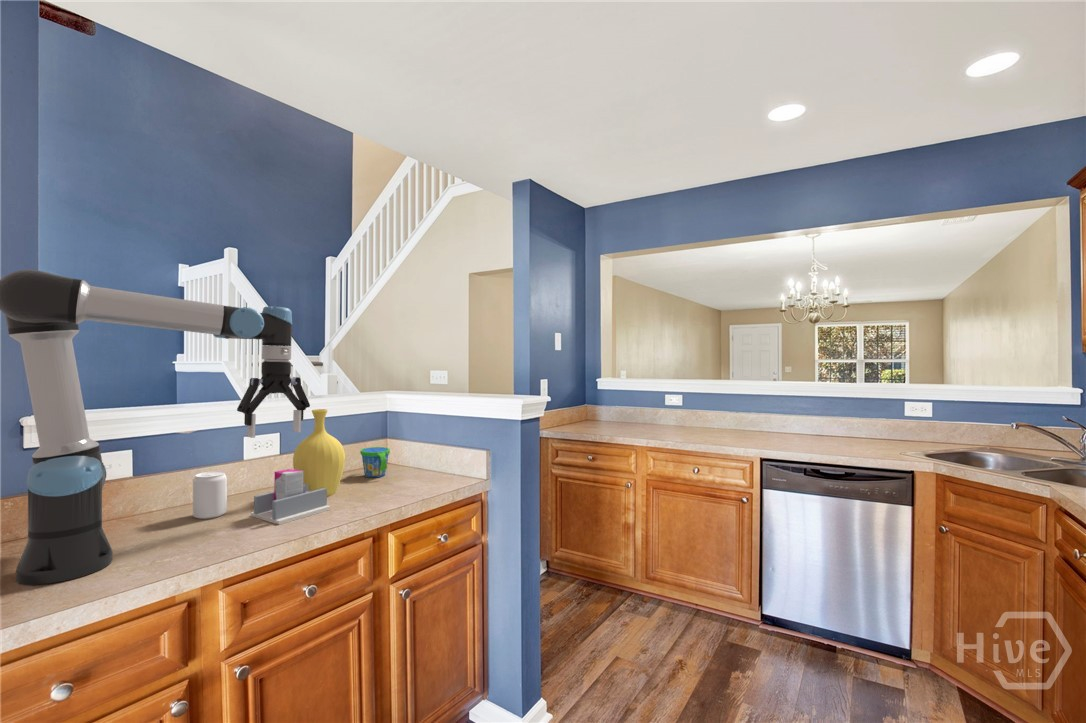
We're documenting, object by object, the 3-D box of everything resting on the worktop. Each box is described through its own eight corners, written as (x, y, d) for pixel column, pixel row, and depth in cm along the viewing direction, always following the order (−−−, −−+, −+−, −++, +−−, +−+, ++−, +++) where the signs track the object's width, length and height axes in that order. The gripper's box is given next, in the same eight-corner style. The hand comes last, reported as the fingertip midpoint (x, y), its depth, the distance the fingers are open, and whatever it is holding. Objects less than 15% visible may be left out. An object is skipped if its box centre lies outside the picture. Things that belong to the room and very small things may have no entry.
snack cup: (395, 478, 191) (395, 451, 191) (367, 482, 185) (367, 454, 185) (382, 470, 204) (382, 444, 204) (355, 473, 198) (355, 447, 198)
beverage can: (210, 521, 141) (210, 478, 141) (185, 518, 143) (185, 476, 143) (233, 512, 149) (233, 471, 149) (210, 510, 151) (210, 470, 151)
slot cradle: (279, 524, 139) (279, 502, 139) (250, 515, 146) (250, 495, 146) (330, 509, 153) (330, 489, 153) (301, 502, 160) (301, 483, 160)
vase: (350, 495, 167) (350, 411, 167) (296, 503, 158) (297, 413, 158) (339, 485, 181) (339, 406, 180) (289, 491, 172) (289, 408, 171)
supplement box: (303, 509, 150) (304, 470, 149) (284, 514, 145) (284, 474, 144) (292, 505, 153) (292, 467, 153) (273, 510, 148) (273, 471, 147)
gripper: (239, 360, 134) (237, 441, 134) (323, 361, 155) (321, 431, 155) (224, 360, 138) (222, 438, 138) (308, 361, 159) (306, 428, 159)
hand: (274, 434), depth 146 cm, fingers open, 13 cm apart
